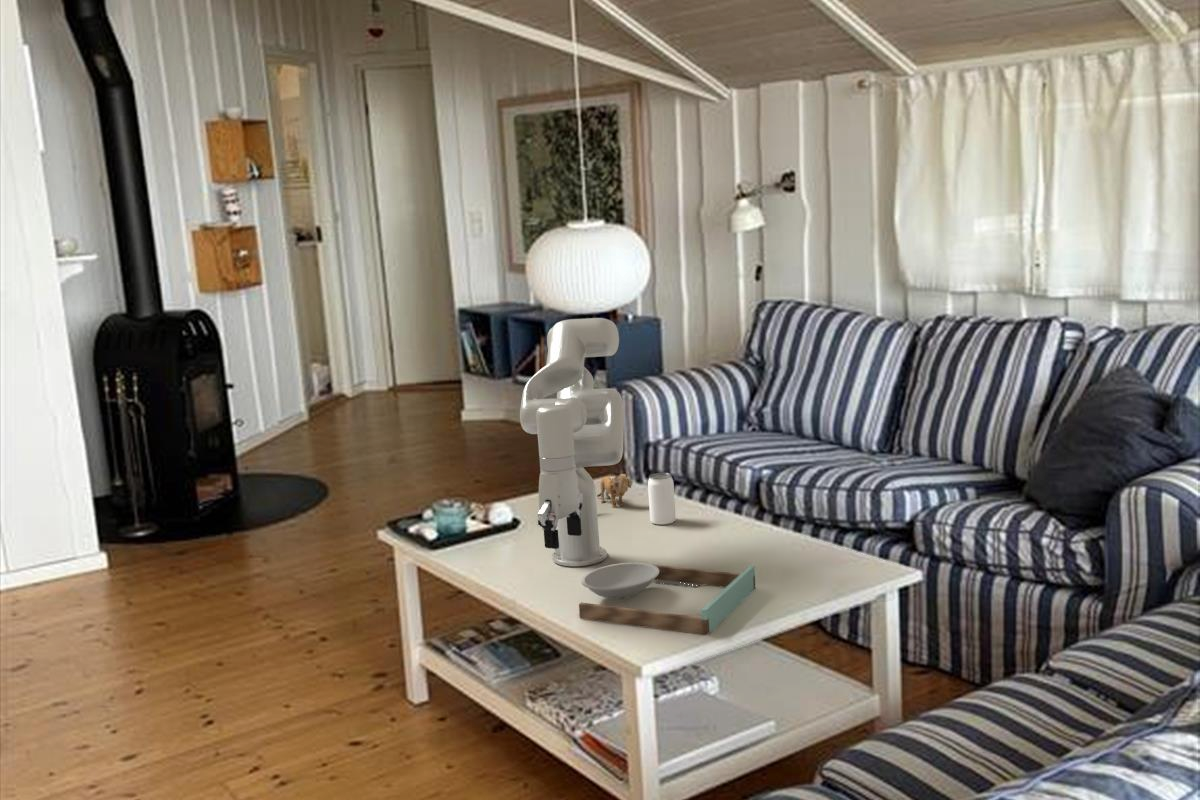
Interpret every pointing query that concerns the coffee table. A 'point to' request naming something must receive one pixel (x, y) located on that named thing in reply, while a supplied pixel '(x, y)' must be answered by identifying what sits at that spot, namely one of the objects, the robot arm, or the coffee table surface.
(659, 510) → the can
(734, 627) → the coffee table surface
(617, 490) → the lion figurine
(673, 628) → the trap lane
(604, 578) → the dish
